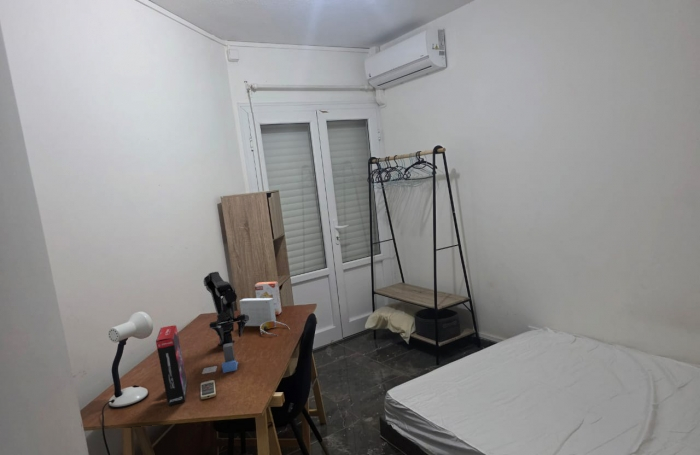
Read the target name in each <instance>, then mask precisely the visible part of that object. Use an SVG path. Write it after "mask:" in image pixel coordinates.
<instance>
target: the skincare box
mask: <svg viewBox="0 0 700 455" xmlns="http://www.w3.org/2000/svg"><path fill="white" fill-rule="evenodd" d="M238 302H239V307H240V308H239V309H240V315H242V314H245V315H248V316H249V321H246V322H247V323H246V324H245V326H244V327H260V326H261V324H262V323H264V322H266V321H276V322H277V318H276V315H275V309H274V301H273V298H256V297H254V298H253V297H252V298H242V299H240V300H239V301H238Z"/></svg>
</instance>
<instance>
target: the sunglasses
mask: <svg viewBox="0 0 700 455" xmlns="http://www.w3.org/2000/svg"><path fill="white" fill-rule="evenodd" d="M277 324H278V325H283V326H285V327H286V328H288V330H291V329H290V327H289V326H288V325H287V324H286V323H282V322H279V321H277V320H276V321H266V322H264V323H262V324H261V326H259V332H260V335H263V333H264V334H267V335H272V336H275V337H279V335H277V334H275V333H271V332H267V331H266V330H270V329H272V328H273V329H274V328H276V326H277Z"/></svg>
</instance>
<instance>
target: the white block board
mask: <svg viewBox="0 0 700 455" xmlns="http://www.w3.org/2000/svg"><path fill="white" fill-rule="evenodd" d="M238 364H239V361H237V360H236V359H235V361H230V362H225V361H224V362H222V363H221V368H222V373H223V374H224V373H229V372H233V371H237V370H238ZM217 368H218V366H217V365H214V366H210V367H205V368H203V370H202V372H201V375H204V374H210V373H214V372H216V371H217Z"/></svg>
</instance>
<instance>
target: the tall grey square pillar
mask: <svg viewBox="0 0 700 455" xmlns="http://www.w3.org/2000/svg"><path fill="white" fill-rule="evenodd" d="M233 343H234V342H233ZM233 343H228V344H224V345H222V349H223V350H222V351H223V357H224V362H230V361H235V360H236V358H235V351H234V350H235V349H234V344H233Z"/></svg>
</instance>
